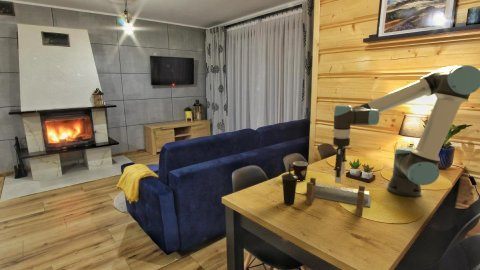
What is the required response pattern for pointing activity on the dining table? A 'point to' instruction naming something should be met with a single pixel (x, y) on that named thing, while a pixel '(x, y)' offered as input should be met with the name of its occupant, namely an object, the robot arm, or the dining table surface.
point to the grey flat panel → (342, 199)
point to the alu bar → (339, 191)
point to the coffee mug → (300, 169)
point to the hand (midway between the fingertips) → (339, 178)
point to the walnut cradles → (311, 195)
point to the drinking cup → (289, 187)
